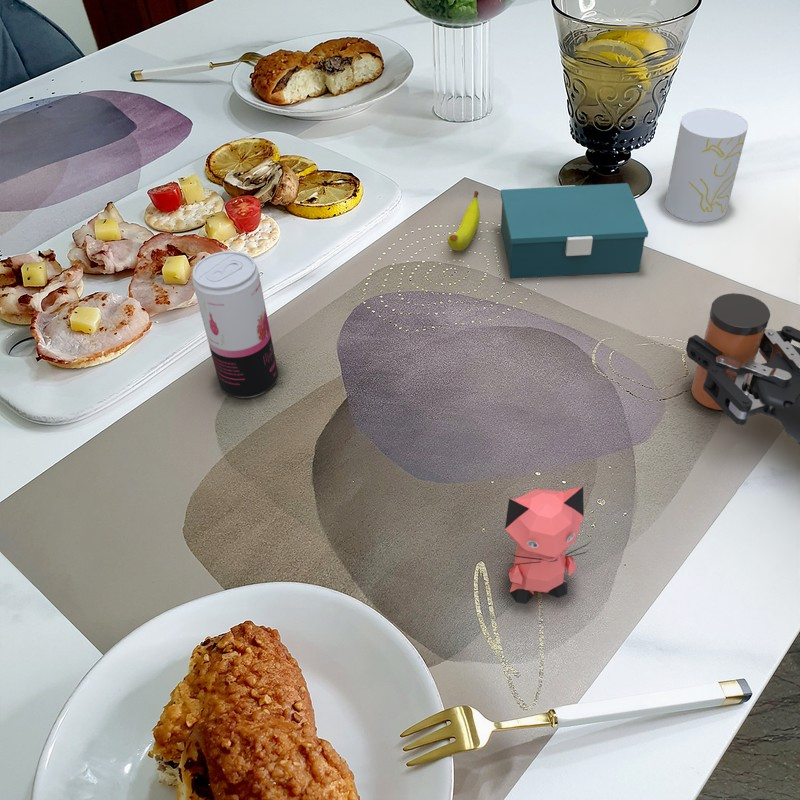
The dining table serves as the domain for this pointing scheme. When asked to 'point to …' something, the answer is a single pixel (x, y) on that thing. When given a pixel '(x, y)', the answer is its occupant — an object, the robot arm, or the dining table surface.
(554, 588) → the cat figurine
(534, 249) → the lunchbox
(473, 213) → the fruit
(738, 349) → the tea tin
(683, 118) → the cup
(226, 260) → the beverage can
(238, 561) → the dining table surface
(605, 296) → the dining table surface
